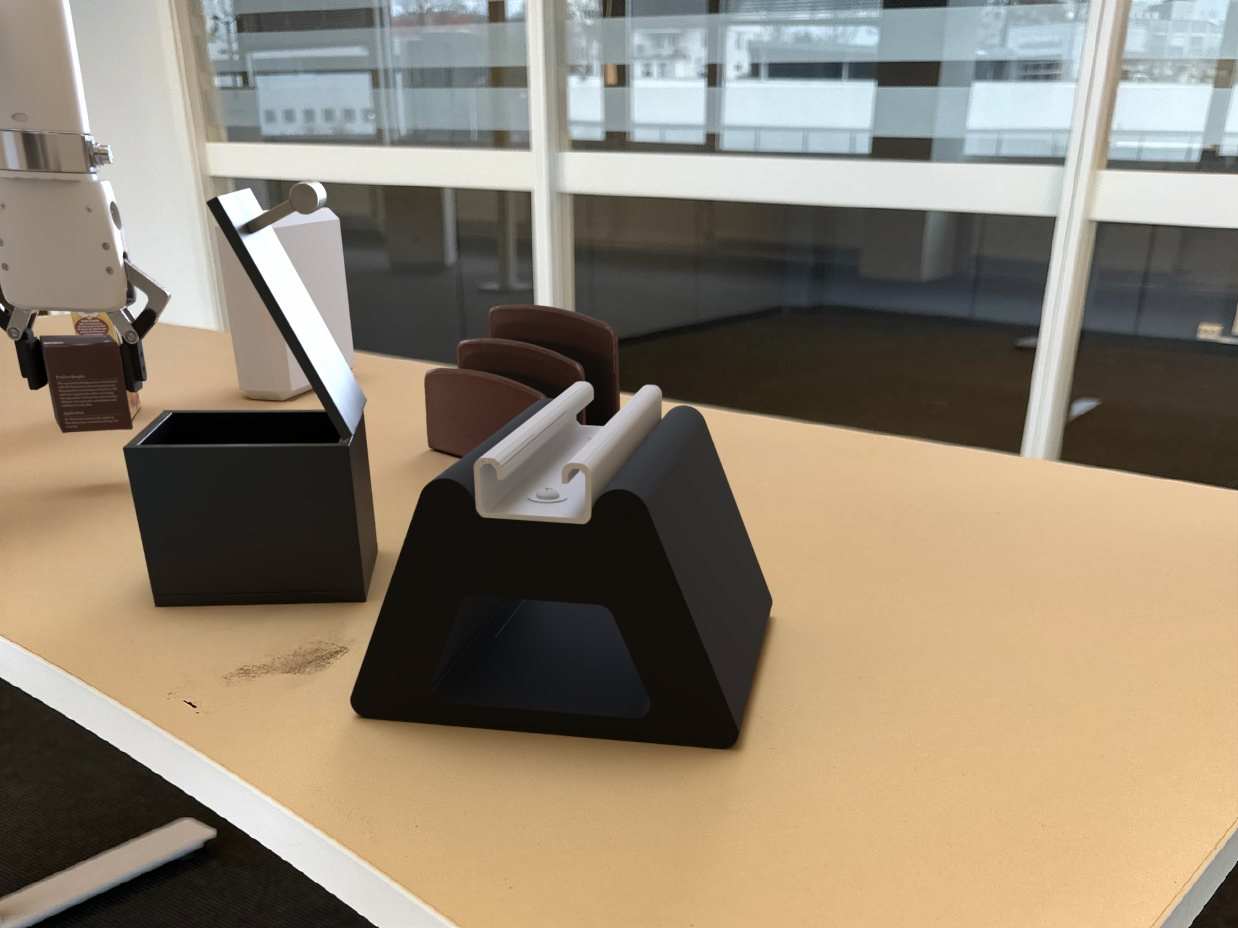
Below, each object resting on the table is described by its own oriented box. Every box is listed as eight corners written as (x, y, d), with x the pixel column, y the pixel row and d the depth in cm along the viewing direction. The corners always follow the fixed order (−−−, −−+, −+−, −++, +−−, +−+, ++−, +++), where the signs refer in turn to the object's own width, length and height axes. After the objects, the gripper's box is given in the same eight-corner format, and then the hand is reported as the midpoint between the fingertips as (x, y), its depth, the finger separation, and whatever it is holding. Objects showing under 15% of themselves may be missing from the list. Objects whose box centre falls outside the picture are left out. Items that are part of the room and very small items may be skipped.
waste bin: (154, 606, 86) (122, 447, 80) (190, 553, 97) (163, 409, 91) (366, 601, 88) (348, 445, 82) (378, 550, 98) (363, 408, 93)
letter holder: (500, 436, 135) (493, 295, 128) (623, 468, 124) (623, 316, 116) (426, 449, 129) (414, 302, 122) (547, 484, 118) (543, 324, 110)
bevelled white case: (304, 371, 168) (283, 205, 158) (359, 374, 167) (341, 207, 156) (228, 398, 151) (199, 214, 140) (289, 402, 149) (264, 216, 139)
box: (126, 419, 114) (112, 333, 110) (134, 431, 109) (119, 342, 106) (54, 421, 111) (37, 334, 108) (60, 434, 107) (42, 343, 103)
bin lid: (205, 201, 74) (288, 156, 73) (239, 192, 84) (312, 152, 84) (342, 441, 82) (419, 402, 81) (358, 404, 93) (426, 370, 92)
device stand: (771, 615, 87) (787, 391, 79) (737, 750, 68) (753, 473, 60) (466, 593, 90) (451, 374, 82) (351, 716, 71) (319, 447, 63)
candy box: (132, 421, 138) (102, 270, 130) (92, 422, 137) (60, 270, 129) (142, 406, 146) (114, 262, 138) (104, 407, 145) (74, 262, 137)
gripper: (166, 163, 104) (197, 384, 113) (-52, 153, 102) (-3, 379, 111) (146, 164, 98) (180, 398, 107) (-87, 152, 95) (-32, 393, 104)
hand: (87, 387), depth 109 cm, fingers closed on box, 7 cm apart
